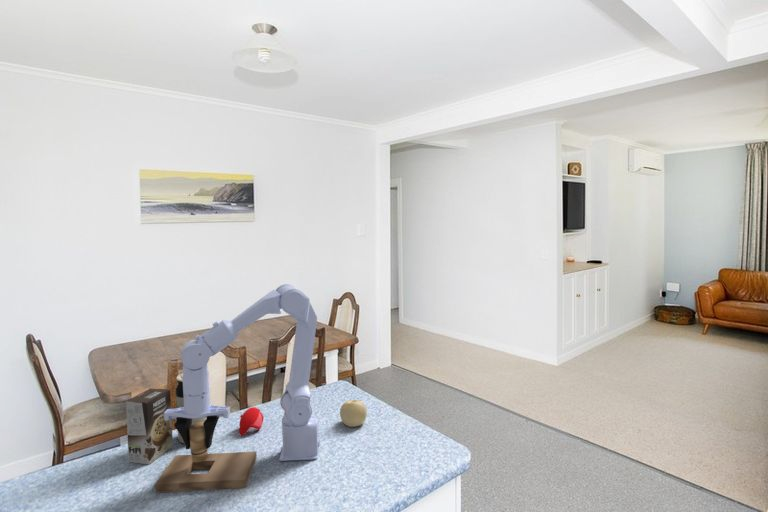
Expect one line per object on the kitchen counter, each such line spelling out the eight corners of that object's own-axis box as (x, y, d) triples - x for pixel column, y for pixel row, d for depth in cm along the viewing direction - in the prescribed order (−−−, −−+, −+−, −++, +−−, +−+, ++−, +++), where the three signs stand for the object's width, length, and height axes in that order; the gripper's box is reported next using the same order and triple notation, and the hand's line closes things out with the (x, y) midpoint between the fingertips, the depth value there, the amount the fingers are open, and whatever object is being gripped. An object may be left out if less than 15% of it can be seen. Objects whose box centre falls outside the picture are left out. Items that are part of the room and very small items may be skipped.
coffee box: (150, 465, 109) (146, 402, 108) (127, 462, 111) (124, 400, 109) (174, 446, 118) (171, 388, 117) (153, 444, 120) (150, 387, 118)
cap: (252, 410, 133) (236, 406, 128) (266, 407, 130) (251, 403, 126) (248, 438, 128) (232, 435, 124) (263, 436, 126) (247, 432, 121)
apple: (354, 432, 125) (341, 408, 125) (344, 432, 131) (331, 409, 132) (375, 416, 129) (362, 393, 130) (364, 417, 136) (351, 395, 136)
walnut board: (256, 458, 112) (256, 451, 112) (245, 487, 100) (245, 479, 100) (175, 463, 110) (175, 455, 110) (155, 492, 98) (154, 484, 98)
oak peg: (211, 453, 107) (209, 421, 106) (205, 462, 103) (203, 429, 102) (194, 453, 106) (193, 422, 106) (187, 463, 103) (186, 430, 102)
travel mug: (208, 428, 128) (205, 368, 127) (210, 440, 121) (207, 377, 120) (178, 434, 125) (175, 373, 123) (178, 447, 118) (175, 382, 116)
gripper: (232, 384, 108) (234, 436, 109) (171, 386, 106) (174, 439, 108) (224, 395, 101) (226, 452, 102) (159, 398, 99) (162, 455, 101)
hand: (199, 446), depth 104 cm, fingers closed on oak peg, 4 cm apart
